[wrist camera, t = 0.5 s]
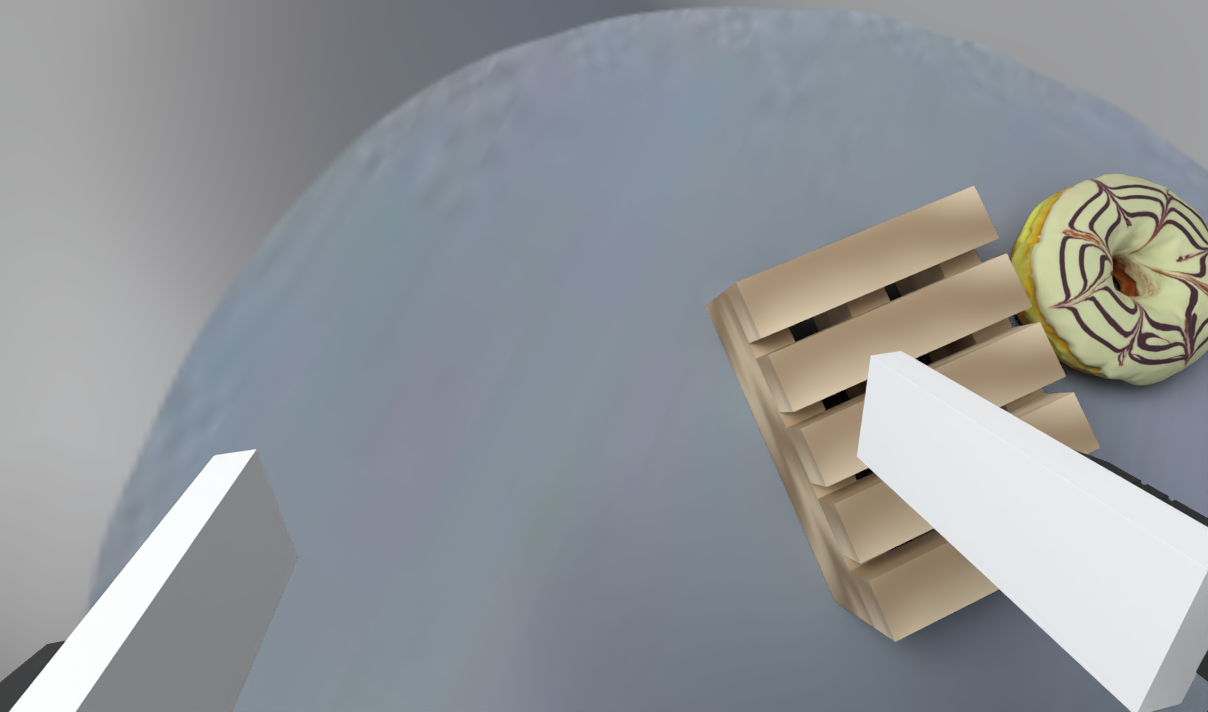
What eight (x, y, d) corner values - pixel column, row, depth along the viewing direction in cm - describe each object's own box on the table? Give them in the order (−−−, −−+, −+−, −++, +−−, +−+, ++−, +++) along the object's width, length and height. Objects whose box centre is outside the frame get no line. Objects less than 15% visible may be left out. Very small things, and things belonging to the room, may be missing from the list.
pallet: (1037, 502, 29) (1135, 520, 24) (835, 601, 28) (895, 641, 23) (906, 224, 30) (974, 185, 25) (705, 305, 29) (736, 282, 24)
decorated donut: (1141, 416, 30) (1223, 416, 26) (964, 334, 30) (1021, 323, 26) (1193, 246, 32) (1279, 224, 28) (1024, 167, 31) (1087, 133, 28)
